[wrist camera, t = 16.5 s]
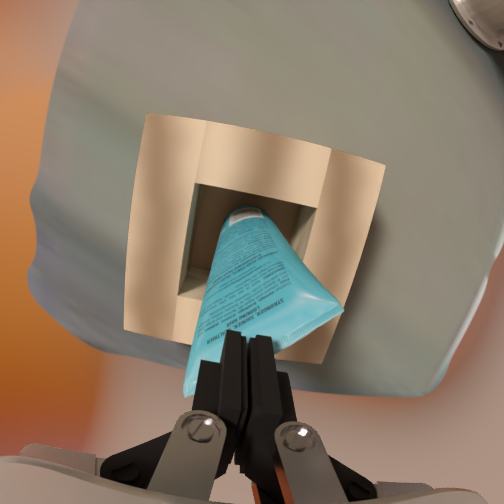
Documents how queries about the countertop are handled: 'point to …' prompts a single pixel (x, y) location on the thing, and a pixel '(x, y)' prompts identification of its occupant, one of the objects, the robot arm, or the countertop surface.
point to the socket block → (223, 202)
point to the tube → (256, 291)
